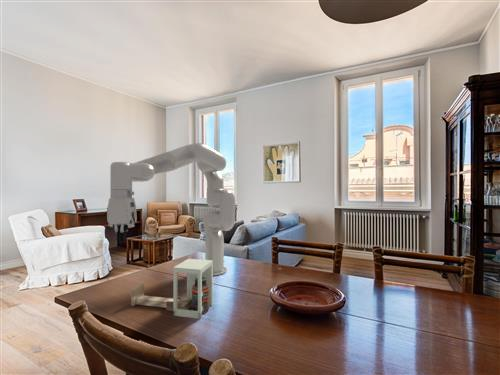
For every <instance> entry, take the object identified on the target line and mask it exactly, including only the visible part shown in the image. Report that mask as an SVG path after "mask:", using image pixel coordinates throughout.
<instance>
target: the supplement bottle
mask: <svg viewBox="0 0 500 375" xmlns="http://www.w3.org/2000/svg"><path fill="white" fill-rule="evenodd" d="M209 307H210V305H209V285H208V284H207V283H206V278H204V277H202V315H203V314H205V313H207V312H208V311H209V309H210V308H209ZM191 310H193V311H198V278H196V279H195V284H194V285H193V286H192V306H191Z"/></svg>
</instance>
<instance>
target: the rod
mask: <svg viewBox="0 0 500 375" xmlns="http://www.w3.org/2000/svg"><path fill="white" fill-rule="evenodd" d="M167 301H173V297H162V296H151V295H145V284H144V283H140V284H138V285H136V286H134V287H133V288H131V289H130V306H131V307H134V306H136V305H140V306H148V307H155V308H157V307H158V308H162V309H163V308H165V309H166V302H167ZM190 308H192V298H190V299H188V300H187V299H182V298H181V299H178V309H184V310H190Z"/></svg>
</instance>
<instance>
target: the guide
mask: <svg viewBox="0 0 500 375" xmlns="http://www.w3.org/2000/svg"><path fill="white" fill-rule="evenodd" d="M178 299H181V300H182V296H179V295H178ZM165 311H169V312H173V301H167V302H166V308H165Z"/></svg>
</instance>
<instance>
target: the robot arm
mask: <svg viewBox="0 0 500 375" xmlns="http://www.w3.org/2000/svg"><path fill="white" fill-rule="evenodd" d="M192 163H196V166H197V168H198V169H199V170H200V172H202V174H203V175H204V177H205V179H206V204H207V206H208V207H209V208H215V209H219V210H215V209H214V210H209V211H207V212H206V213H204V216H203V217H202V223H203V228H204V260H213V276H220V275H224V274H226V273H227V271H228V269H227V268H226V267H225V264H224V263H225V260H224V259H225V258H224V257H225V255H224V254H225V253H224V251H225V249H224V246H225V240H224V233H223V231H224V232H228V231H229V232H230V231H231V230H232V229H233V228H234V225H235V222H236V197H235V194H234V193H233V191H231V190H229V189H225V188H224V186H225V184H224V176H223V174H222V173H221V171H222V172H223V170H224V169H225V168H226V166H227V160H226V158H225V156H224V155H223V154H221V153H220V152H218V151H217V150H215V149H213V148H212V147H211V146H209V145H206V144H204V143H201V142H197V143H191V144H186V145H183V146H181V147H177V148H174V149H172V150H169V151H166V152H163V153H160V154H158V155H154V156H151V157H148V158H145V159H142V160H139V161H136V162H134V163H133V162H127V161H113V162H112V163H111V164H110V167H109V168H110V169H109V170H110V172H109V173H110V175H109V176H110V183H109V184H110V191H109V192H110V194H109V195H110V198H109V199H108V203H107V212H106V218H107V219H106V220H107V223H108V227H110V228H113V229H114V232H115V233H116V243H118V244H122V243H125V242H126V241H127V232H128V231H129V229H131V228H133V227H135V226H136V225H135V223H137V219H138V217H137V215H138V214H137V206H136V205H137V204H136V201H135V197H133V196H134V195H135V191H133V182H136V183H137V182H138V183H139V182H142V183H143V182H149V181H150V180H152V179H153V178H154V176H155V175H157V174H162V173H168V172H172V171H176V170H178V169H180V168H183V167H185V166H187V165H190V164H192Z"/></svg>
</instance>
